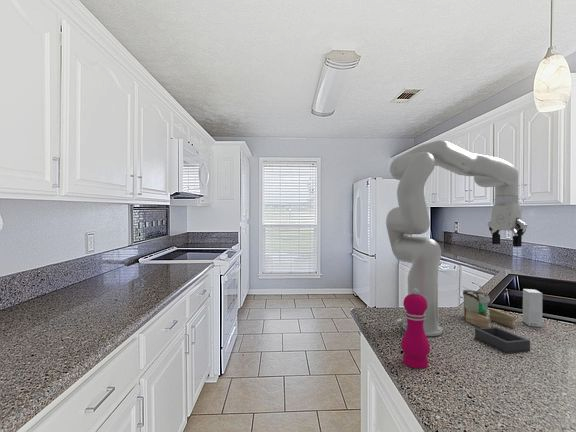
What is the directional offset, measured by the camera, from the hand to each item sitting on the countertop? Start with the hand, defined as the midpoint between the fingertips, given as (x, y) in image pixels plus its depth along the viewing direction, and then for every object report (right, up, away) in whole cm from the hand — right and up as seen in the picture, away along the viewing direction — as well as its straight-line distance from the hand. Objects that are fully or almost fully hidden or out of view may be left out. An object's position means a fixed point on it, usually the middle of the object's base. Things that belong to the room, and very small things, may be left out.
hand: (506, 245), depth 128 cm
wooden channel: (-11, -28, -8) cm, 31 cm away
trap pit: (-19, -28, -26) cm, 42 cm away
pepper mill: (-50, -28, -39) cm, 69 cm away
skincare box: (+4, -28, -8) cm, 29 cm away
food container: (-12, -28, -3) cm, 30 cm away
